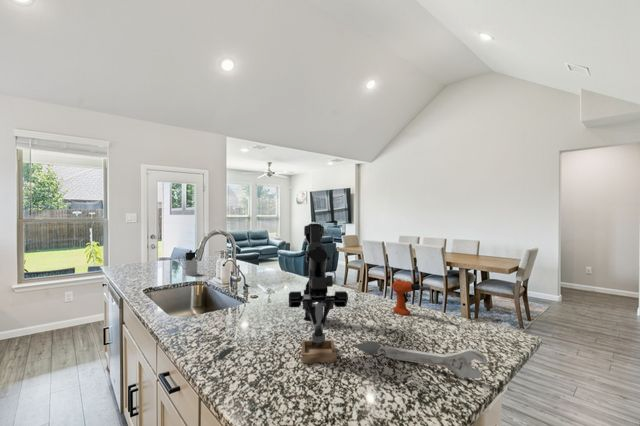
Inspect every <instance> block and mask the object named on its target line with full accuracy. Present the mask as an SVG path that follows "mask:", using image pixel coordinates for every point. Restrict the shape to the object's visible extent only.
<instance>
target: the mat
mask: <svg viewBox="0 0 640 426" xmlns="http://www.w3.org/2000/svg"><path fill="white" fill-rule="evenodd" d="M381 346H382V345H381V344H379V343H377V342H375V341H373V340H369V341H365V342H362V343H358V344H356V345H353V347H354V348H356V349H358V350H360V351H361V352H363V353H365V354H367V355H368V356H372V355H376V354H378V349H379V348H380V347H381ZM380 351H381V353H382V352H385V350H384V349H380Z"/></svg>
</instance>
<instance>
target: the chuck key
mask: <svg viewBox="0 0 640 426" xmlns="http://www.w3.org/2000/svg"><path fill="white" fill-rule="evenodd" d="M312 307H315V325H313V326H314V329H313V331H314V333H312V334H311V340H312V346H314V347H323V346H325V340H326V334H325V333H324V325H323V314H324V307H326V303H323V302H322V301H315V303H312Z"/></svg>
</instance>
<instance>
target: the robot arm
mask: <svg viewBox="0 0 640 426" xmlns="http://www.w3.org/2000/svg"><path fill="white" fill-rule="evenodd" d="M324 228H325V227H324V225H322V224H321V223H316V222H315V223H309V224H307V225H304V227H303V230H304V231H303V232H304V233H303V235H304V237H305V241H306V243H307V245H308V246H307V251H306V252H305V262H306V263H307V265H308V281H307V282H306V283H305V284H306V285H305V289H303V294H302V291H290V292H289V293H288V308H300V307H301V306H302V310H303V311H305V312H304V315H305V316H304V317H303V320H305V321H311V323H312V326H315V307H312V303H315V301H322V302H323V303H326V307H323V326H325V324H326V321H327V317H328V314H329V313H330V310H334V306H335V307H336V308H345V307H347V305H348V301H349V295H348V292H347V291H345V290H343V291H341V290H339V291H334V295H327V294H328V287H333V285H334V281H333V275H326V268H327V263H328V262H329V261H330V257H331V256H330V255H329V253H328V252H327V251H326V246H324V245H323V244H322V239H323V237H324V236H325V229H324Z"/></svg>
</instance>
